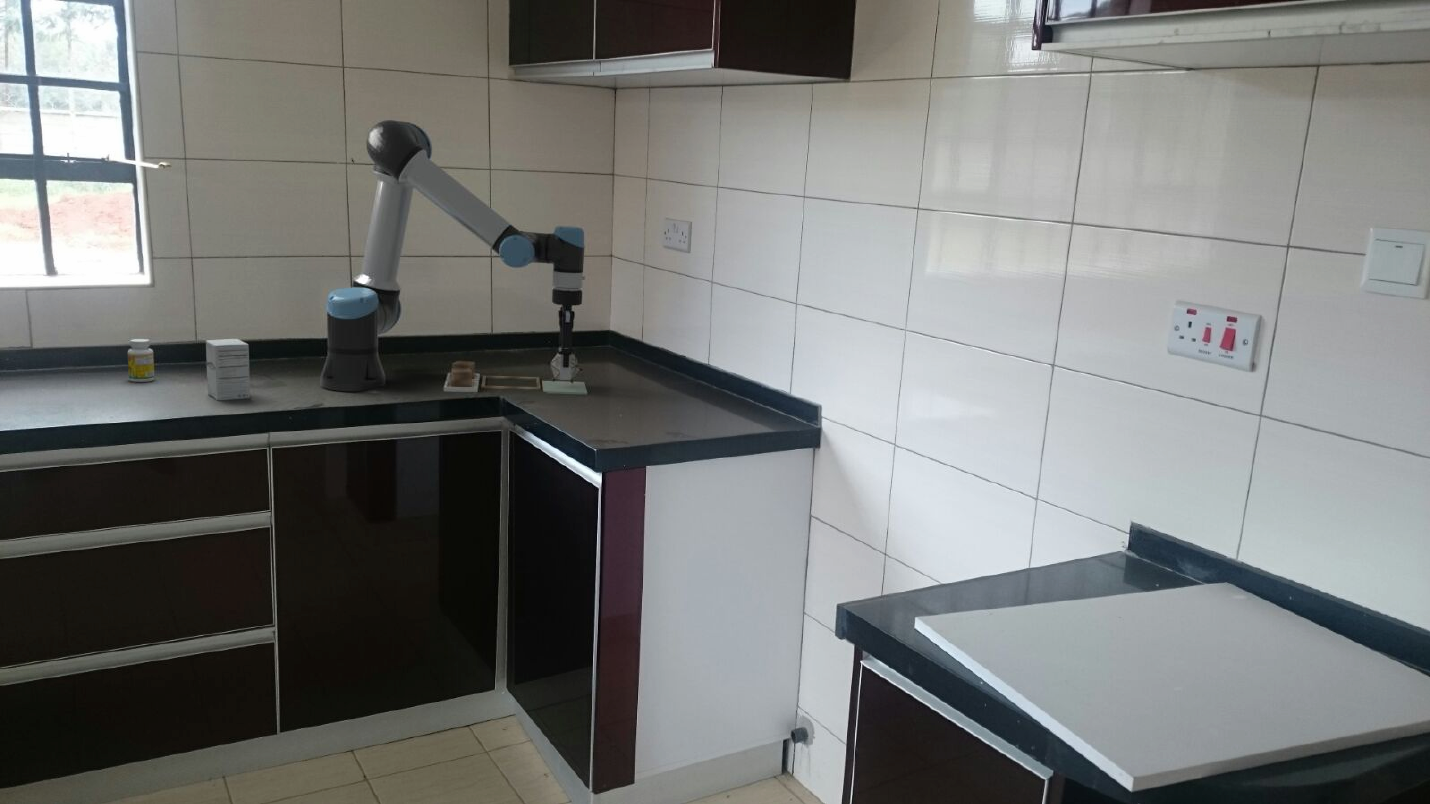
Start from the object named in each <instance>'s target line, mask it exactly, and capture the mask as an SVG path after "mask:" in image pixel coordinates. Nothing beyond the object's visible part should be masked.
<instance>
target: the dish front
mask: <svg viewBox="0 0 1430 804" xmlns="http://www.w3.org/2000/svg"><path fill="white" fill-rule="evenodd" d="M479 385H480V381H479V382H478V381H472V387H451V381H446V380H445V382H444V385H443V392H450V393H451V392H453V393H478V391H479Z"/></svg>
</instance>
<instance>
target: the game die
mask: <svg viewBox="0 0 1430 804" xmlns="http://www.w3.org/2000/svg"><path fill="white" fill-rule="evenodd" d="M558 352H559V349H556V355H554V357H553V358H552V359H551V361H550V362H546V363H545V364H547V365H549V367H550V369H551V373H552V376H553V379H552V381H553V382H554V381H561V380H560V355H561V354H558ZM577 352H578V351H574V353H572V354H571V380H565V381H567V382H571V383H572V384H573V382H574V381H573V380H574V378H575V377H576V376H577V375H578V373H579V371H584V370H583V368H580V365H579V363H578V359H577V356H576V354H577Z"/></svg>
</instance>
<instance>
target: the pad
mask: <svg viewBox="0 0 1430 804" xmlns="http://www.w3.org/2000/svg"><path fill="white" fill-rule="evenodd" d="M541 387H542V391H543V392H545V393H546V394H549V395H550V394H551V395H580V396H581V395H583V396H584V395H586V396H587V395H588V390H587V387H586V384H585V382H584V381H573V384H572V383H571V381H566V380H555V381H554V382H553V380H541Z"/></svg>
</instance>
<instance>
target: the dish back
mask: <svg viewBox="0 0 1430 804" xmlns="http://www.w3.org/2000/svg"><path fill="white" fill-rule="evenodd" d="M480 377H481V374H480V373H475V379H472V381H478V382H479V383H480V380H481V379H480ZM446 381H451V372H447V376H446V380H445V382H446Z"/></svg>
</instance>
